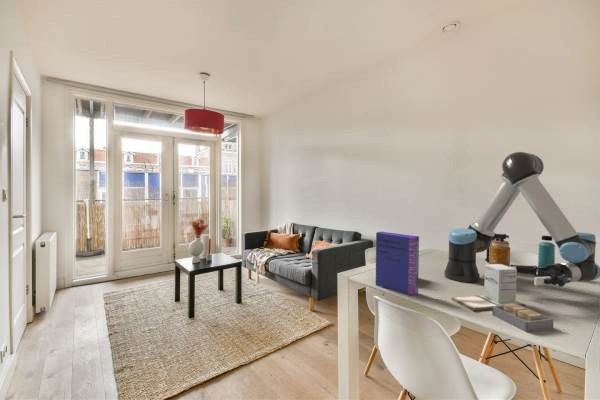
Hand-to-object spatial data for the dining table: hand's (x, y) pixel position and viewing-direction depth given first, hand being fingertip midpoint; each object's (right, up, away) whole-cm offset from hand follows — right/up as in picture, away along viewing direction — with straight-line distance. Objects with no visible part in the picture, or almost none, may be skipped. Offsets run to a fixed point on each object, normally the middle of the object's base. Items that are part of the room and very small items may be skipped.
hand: (517, 275), depth 110 cm
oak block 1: (-12, -10, -15) cm, 22 cm away
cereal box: (-42, -10, +14) cm, 45 cm away
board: (-13, -10, -2) cm, 17 cm away
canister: (+21, -9, +43) cm, 49 cm away
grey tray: (-12, -11, -17) cm, 24 cm away
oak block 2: (-11, -10, -20) cm, 25 cm away
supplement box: (-8, -9, -1) cm, 12 cm away
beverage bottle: (+41, -9, +35) cm, 54 cm away
